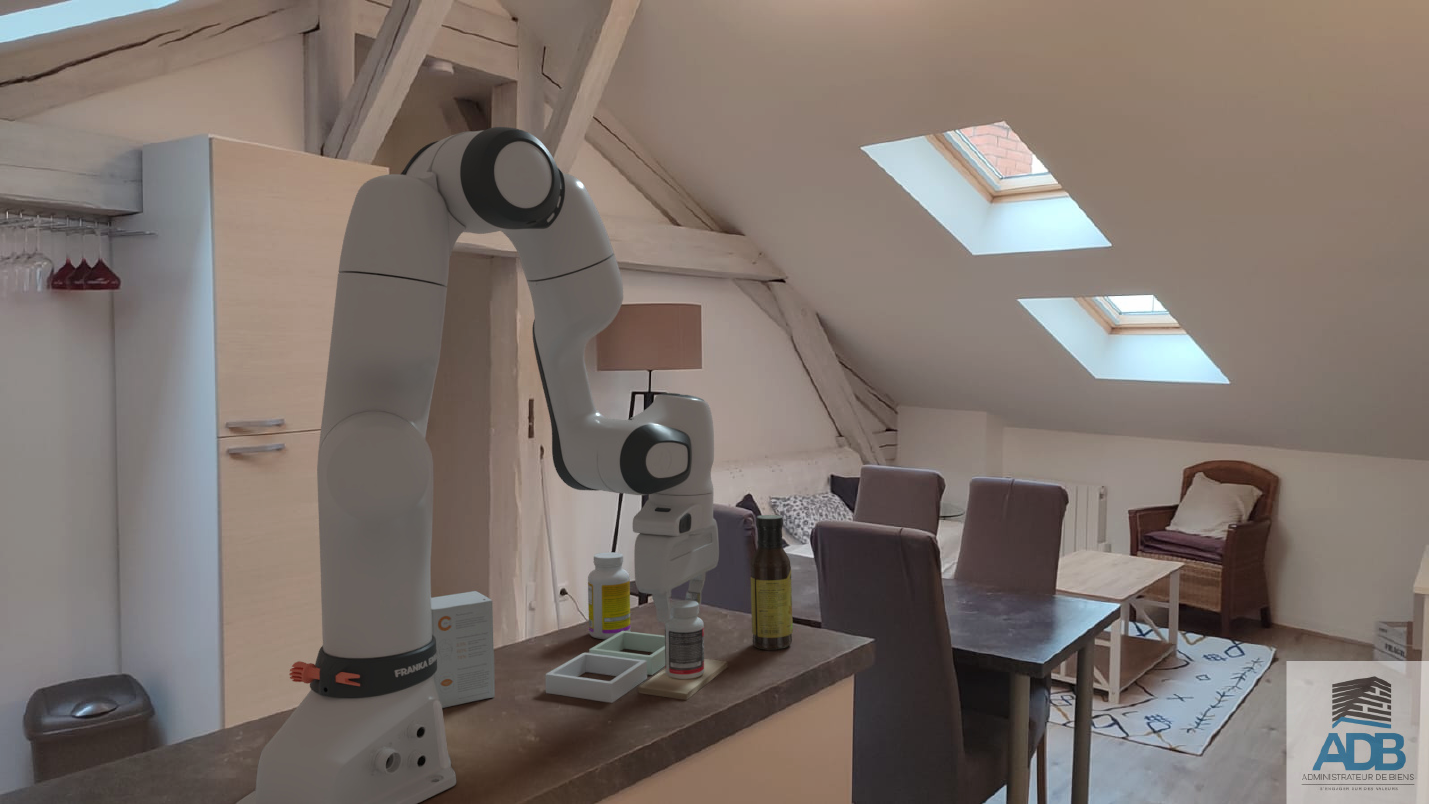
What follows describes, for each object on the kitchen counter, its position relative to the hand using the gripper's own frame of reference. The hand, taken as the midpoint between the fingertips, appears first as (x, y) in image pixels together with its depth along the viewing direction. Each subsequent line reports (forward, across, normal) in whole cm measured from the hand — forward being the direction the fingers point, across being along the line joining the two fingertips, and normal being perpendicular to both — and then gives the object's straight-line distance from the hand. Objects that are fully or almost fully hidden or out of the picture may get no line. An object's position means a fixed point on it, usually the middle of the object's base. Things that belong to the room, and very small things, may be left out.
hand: (679, 612), depth 132 cm
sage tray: (+9, -6, -9) cm, 14 cm away
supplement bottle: (+10, -16, -19) cm, 27 cm away
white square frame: (+10, +6, -9) cm, 15 cm away
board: (+9, 0, +1) cm, 9 cm away
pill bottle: (+9, 0, +1) cm, 9 cm away
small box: (+10, +16, -24) cm, 31 cm away
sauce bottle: (+9, -20, +7) cm, 23 cm away
